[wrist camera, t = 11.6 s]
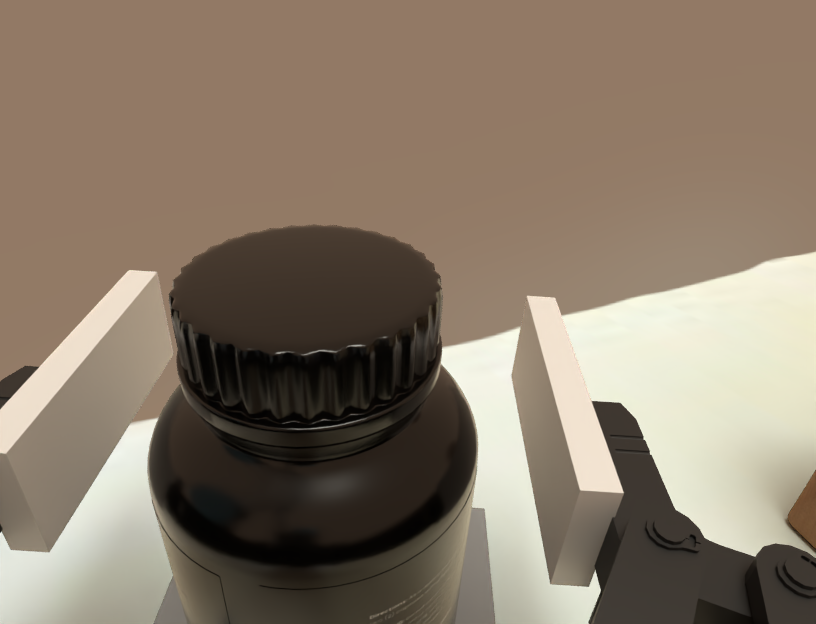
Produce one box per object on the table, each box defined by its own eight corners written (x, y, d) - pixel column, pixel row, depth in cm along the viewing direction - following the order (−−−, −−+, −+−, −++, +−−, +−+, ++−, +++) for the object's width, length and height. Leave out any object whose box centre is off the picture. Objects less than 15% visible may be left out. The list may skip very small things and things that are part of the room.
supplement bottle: (413, 523, 20) (443, 196, 14) (482, 745, 15) (585, 370, 8) (206, 561, 19) (133, 209, 12) (197, 827, 13) (54, 438, 7)
